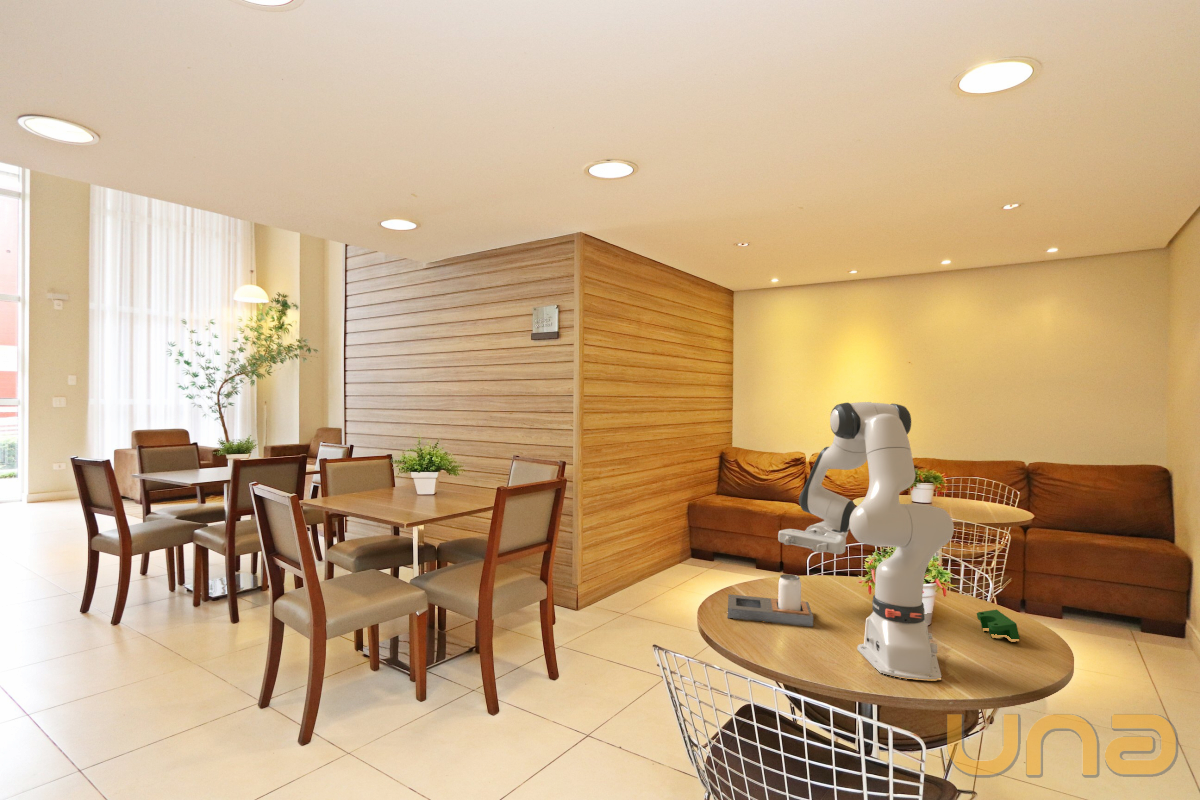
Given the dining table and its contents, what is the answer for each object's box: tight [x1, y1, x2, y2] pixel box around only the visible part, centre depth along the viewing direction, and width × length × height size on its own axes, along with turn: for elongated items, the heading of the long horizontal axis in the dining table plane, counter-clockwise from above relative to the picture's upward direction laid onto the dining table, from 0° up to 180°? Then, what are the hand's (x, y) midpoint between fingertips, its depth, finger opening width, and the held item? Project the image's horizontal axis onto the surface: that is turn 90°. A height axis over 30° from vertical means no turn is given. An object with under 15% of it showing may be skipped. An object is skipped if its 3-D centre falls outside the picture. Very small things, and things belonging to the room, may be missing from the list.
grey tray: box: [727, 594, 814, 628], centre depth 186 cm, size 13×24×3 cm, turn 78°
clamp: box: [976, 608, 1021, 640], centre depth 175 cm, size 12×6×9 cm, turn 166°
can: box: [777, 573, 802, 611], centre depth 185 cm, size 6×6×12 cm
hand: (800, 545), depth 190 cm, fingers open, 8 cm apart
